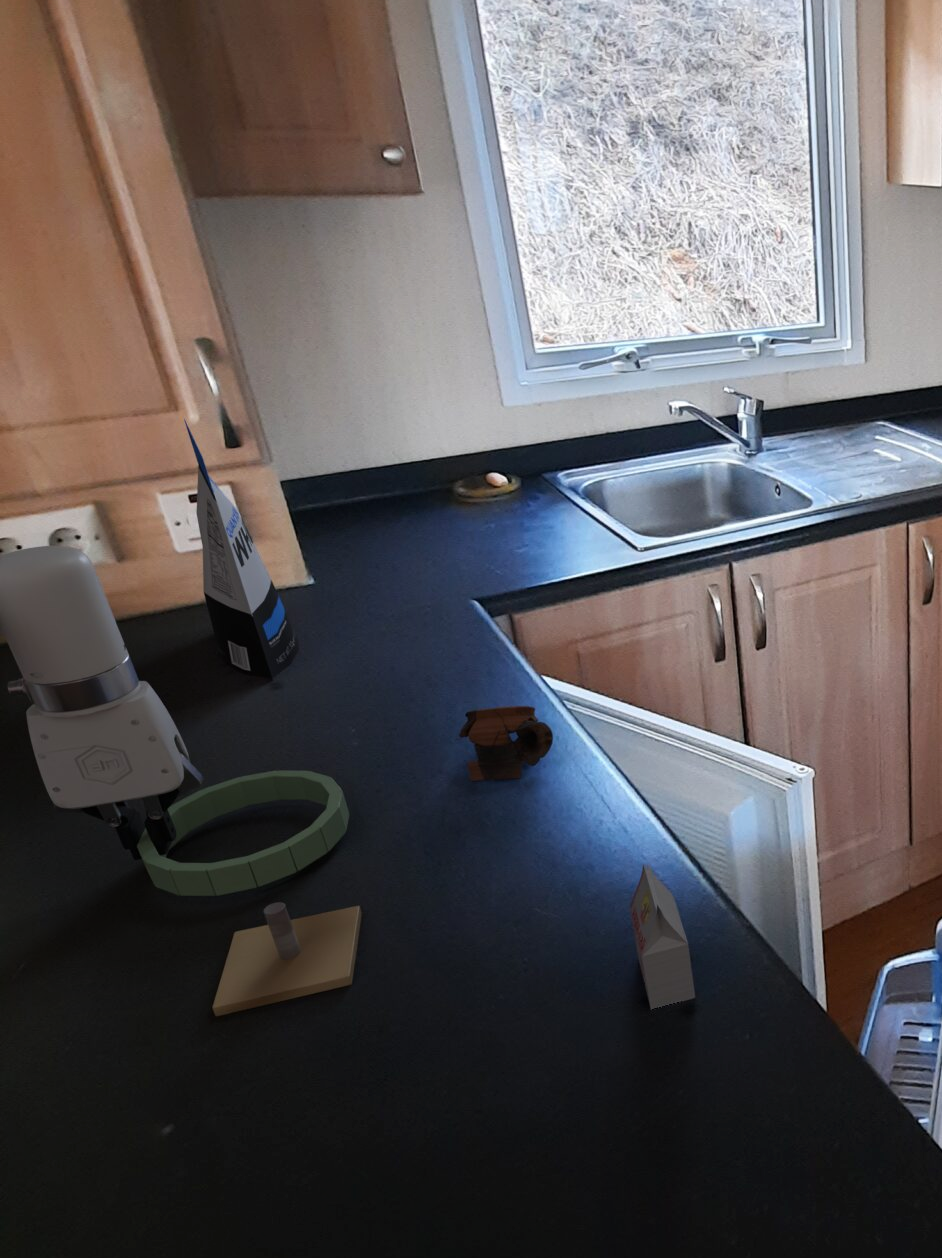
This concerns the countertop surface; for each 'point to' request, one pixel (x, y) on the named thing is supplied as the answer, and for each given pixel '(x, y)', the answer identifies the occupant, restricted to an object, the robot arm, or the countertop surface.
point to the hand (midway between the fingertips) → (154, 848)
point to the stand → (288, 958)
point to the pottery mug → (505, 741)
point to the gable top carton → (661, 943)
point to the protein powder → (239, 587)
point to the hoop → (258, 865)
